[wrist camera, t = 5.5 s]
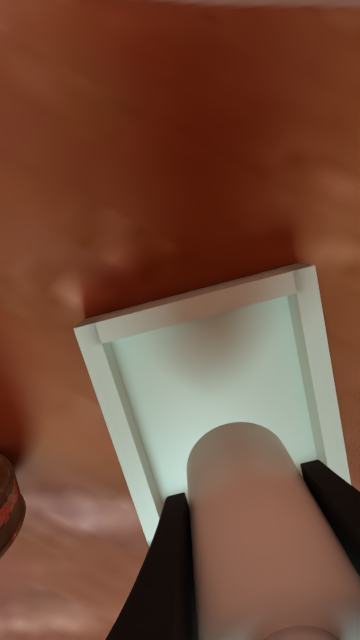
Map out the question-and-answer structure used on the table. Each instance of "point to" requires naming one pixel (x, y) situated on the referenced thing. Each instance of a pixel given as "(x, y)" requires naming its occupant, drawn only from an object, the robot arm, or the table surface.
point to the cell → (264, 545)
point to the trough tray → (214, 377)
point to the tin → (9, 505)
